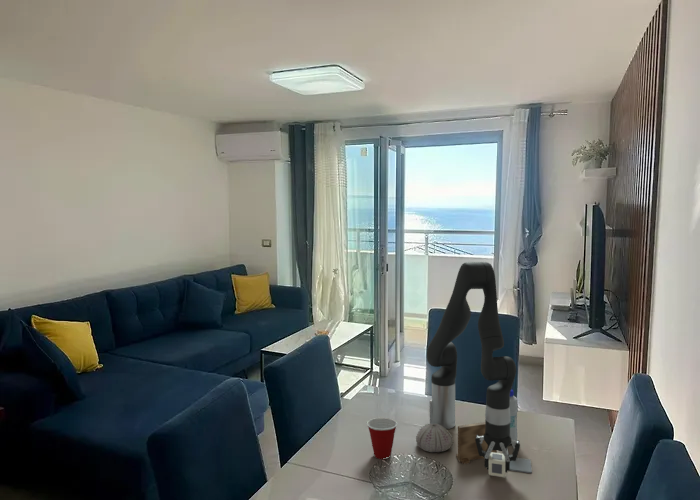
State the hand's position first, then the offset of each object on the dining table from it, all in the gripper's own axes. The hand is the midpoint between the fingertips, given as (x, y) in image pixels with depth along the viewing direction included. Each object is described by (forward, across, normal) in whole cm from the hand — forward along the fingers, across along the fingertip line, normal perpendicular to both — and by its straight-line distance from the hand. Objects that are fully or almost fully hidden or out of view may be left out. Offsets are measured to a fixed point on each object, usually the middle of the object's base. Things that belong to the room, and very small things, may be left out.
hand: (497, 469), depth 153 cm
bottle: (+3, +4, +25) cm, 25 cm away
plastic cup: (+3, -39, +4) cm, 39 cm away
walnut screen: (+3, -7, +10) cm, 13 cm away
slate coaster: (+3, +7, +9) cm, 12 cm away
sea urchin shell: (+3, -22, +15) cm, 27 cm away
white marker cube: (+1, 0, 0) cm, 1 cm away
